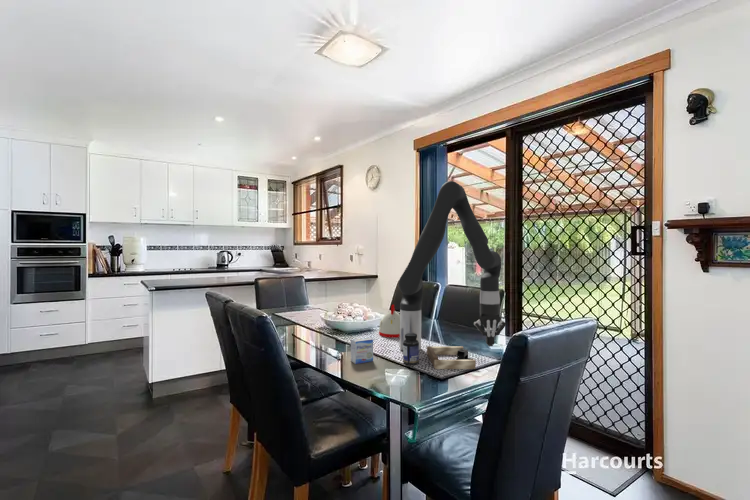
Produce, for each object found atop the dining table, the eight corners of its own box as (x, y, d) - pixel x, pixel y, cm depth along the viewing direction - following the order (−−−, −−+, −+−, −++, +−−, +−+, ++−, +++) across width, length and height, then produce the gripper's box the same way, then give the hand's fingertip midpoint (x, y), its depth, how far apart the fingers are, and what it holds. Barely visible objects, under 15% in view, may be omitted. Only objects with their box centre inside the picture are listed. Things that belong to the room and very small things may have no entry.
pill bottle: (420, 361, 148) (420, 333, 148) (417, 365, 143) (417, 336, 142) (405, 359, 150) (405, 331, 150) (401, 364, 145) (401, 335, 144)
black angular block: (460, 356, 156) (460, 345, 156) (477, 359, 152) (477, 348, 152) (447, 364, 146) (447, 352, 146) (465, 368, 142) (465, 355, 142)
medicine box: (355, 364, 144) (355, 341, 144) (350, 361, 148) (350, 339, 148) (373, 361, 148) (373, 339, 148) (368, 358, 152) (368, 336, 152)
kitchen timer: (377, 337, 186) (377, 306, 185) (381, 330, 199) (381, 302, 199) (405, 338, 183) (405, 307, 183) (407, 331, 197) (407, 302, 197)
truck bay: (434, 369, 139) (435, 359, 139) (426, 353, 158) (426, 345, 158) (475, 368, 139) (475, 359, 139) (462, 353, 158) (462, 345, 158)
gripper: (502, 300, 153) (503, 342, 153) (470, 300, 152) (470, 343, 153) (510, 303, 145) (510, 348, 145) (475, 303, 145) (476, 348, 145)
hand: (490, 345), depth 149 cm, fingers closed
